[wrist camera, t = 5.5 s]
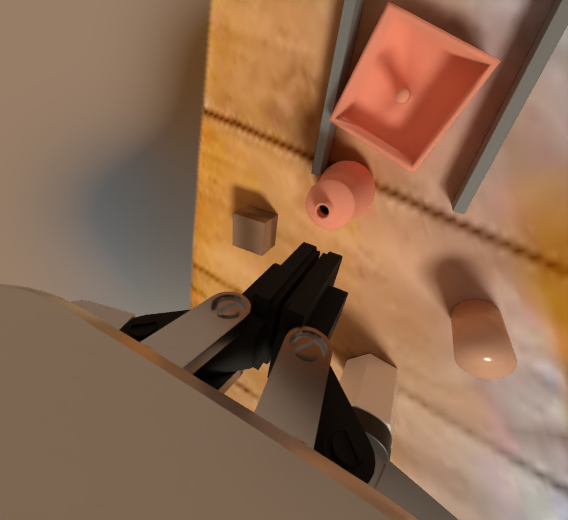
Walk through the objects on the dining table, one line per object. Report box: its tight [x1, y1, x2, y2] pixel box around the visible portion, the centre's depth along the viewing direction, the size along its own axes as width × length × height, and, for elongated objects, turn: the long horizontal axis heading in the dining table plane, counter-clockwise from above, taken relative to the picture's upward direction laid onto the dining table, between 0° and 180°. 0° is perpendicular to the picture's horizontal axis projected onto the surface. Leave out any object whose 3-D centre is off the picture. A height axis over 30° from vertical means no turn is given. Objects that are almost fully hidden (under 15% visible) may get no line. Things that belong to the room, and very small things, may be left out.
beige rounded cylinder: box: [451, 299, 517, 379], centre depth 29 cm, size 5×5×7 cm
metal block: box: [233, 206, 278, 256], centre depth 38 cm, size 5×5×4 cm
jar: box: [339, 354, 399, 462], centre depth 39 cm, size 9×8×12 cm
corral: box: [311, 0, 568, 214], centre depth 23 cm, size 16×21×2 cm
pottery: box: [306, 1, 501, 229], centre depth 25 cm, size 18×10×10 cm, turn 153°
